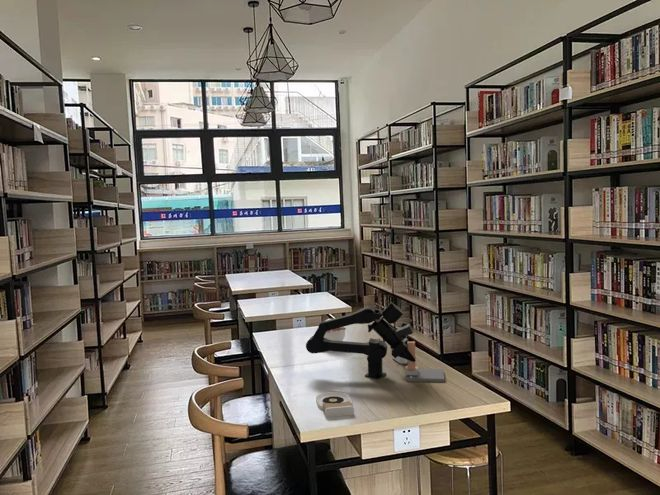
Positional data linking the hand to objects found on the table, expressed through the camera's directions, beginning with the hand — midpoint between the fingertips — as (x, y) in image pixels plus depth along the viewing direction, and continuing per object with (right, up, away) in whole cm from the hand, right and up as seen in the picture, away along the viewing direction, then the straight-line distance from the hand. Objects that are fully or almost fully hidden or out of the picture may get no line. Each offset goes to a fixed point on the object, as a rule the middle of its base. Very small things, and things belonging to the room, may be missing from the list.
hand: (415, 359), depth 208 cm
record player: (-32, -10, -27) cm, 43 cm away
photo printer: (-3, -5, +22) cm, 23 cm away
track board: (+4, -7, 0) cm, 7 cm away
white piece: (-33, -4, +52) cm, 62 cm away
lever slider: (-1, -5, +1) cm, 5 cm away
